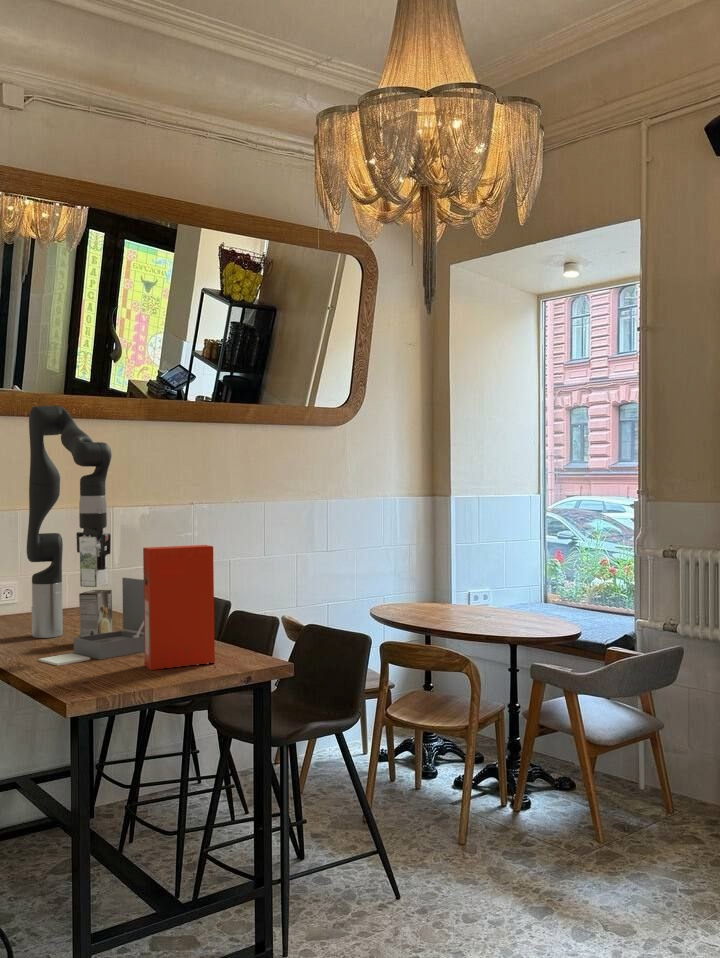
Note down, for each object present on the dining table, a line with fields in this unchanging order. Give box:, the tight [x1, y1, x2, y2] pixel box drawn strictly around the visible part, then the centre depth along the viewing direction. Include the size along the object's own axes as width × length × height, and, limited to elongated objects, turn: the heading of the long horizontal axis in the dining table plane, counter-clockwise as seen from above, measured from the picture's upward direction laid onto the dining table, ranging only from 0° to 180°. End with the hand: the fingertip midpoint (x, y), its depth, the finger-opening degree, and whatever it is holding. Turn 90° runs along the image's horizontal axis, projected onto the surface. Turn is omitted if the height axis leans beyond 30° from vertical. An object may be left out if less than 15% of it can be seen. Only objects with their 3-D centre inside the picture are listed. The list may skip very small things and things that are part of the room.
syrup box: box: [79, 536, 109, 588], centre depth 255 cm, size 6×6×14 cm
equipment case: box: [73, 577, 145, 661], centre depth 260 cm, size 14×17×20 cm
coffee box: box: [78, 589, 113, 637], centre depth 274 cm, size 9×6×16 cm
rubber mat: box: [38, 652, 91, 666], centre depth 248 cm, size 10×10×1 cm
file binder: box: [142, 544, 216, 671], centre depth 241 cm, size 8×17×32 cm, turn 116°
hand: (93, 568), depth 255 cm, fingers closed on syrup box, 7 cm apart
